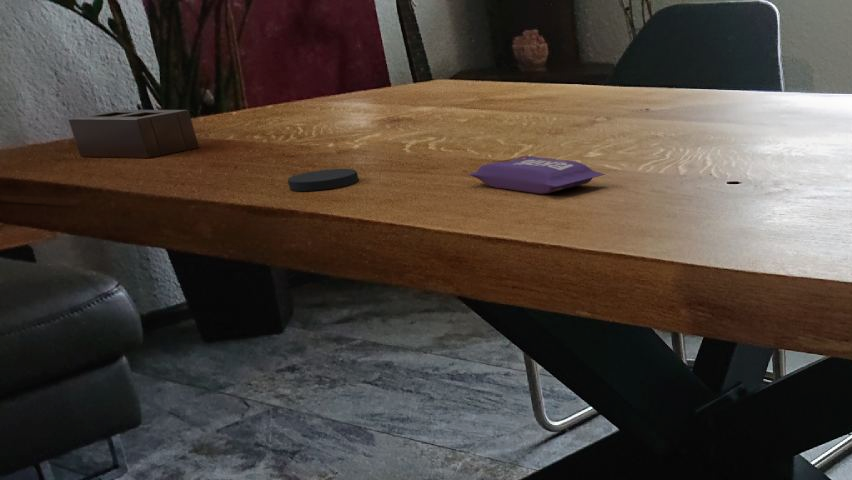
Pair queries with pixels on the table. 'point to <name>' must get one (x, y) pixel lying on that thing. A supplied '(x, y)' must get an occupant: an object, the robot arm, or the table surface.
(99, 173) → the table surface
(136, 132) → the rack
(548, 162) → the snack package
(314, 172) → the coaster
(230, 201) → the table surface
